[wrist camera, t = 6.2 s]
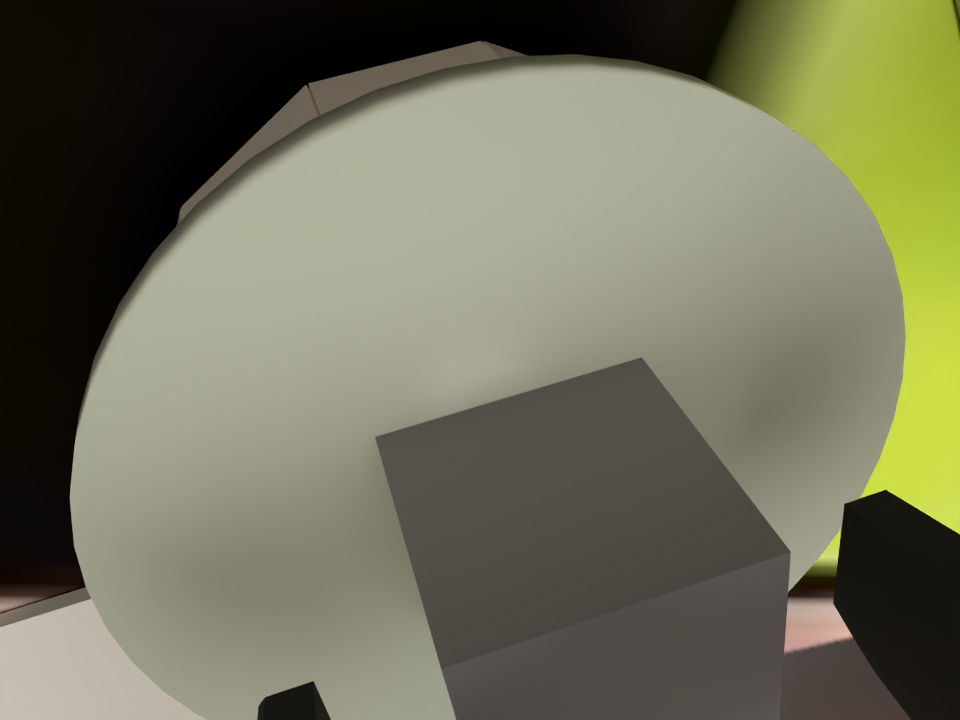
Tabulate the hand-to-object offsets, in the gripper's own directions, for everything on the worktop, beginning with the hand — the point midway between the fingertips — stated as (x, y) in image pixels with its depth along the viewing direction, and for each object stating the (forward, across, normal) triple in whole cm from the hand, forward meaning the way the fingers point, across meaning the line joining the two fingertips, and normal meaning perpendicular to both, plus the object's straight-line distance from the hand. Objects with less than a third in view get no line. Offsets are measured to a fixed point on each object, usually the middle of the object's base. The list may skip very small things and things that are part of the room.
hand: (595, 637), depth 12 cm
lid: (+4, 0, 0) cm, 4 cm away
